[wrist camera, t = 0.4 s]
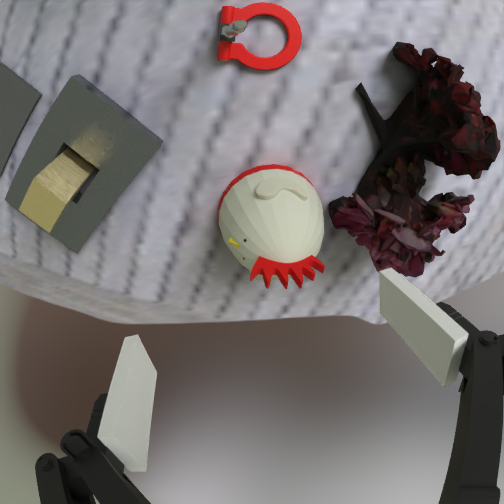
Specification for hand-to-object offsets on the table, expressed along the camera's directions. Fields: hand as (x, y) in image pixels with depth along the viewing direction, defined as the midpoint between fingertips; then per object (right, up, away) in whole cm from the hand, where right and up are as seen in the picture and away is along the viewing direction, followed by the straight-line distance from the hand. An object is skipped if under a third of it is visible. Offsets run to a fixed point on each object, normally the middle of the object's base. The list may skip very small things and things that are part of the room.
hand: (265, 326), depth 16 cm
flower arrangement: (+21, +18, +24) cm, 37 cm away
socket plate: (-23, +15, +19) cm, 34 cm away
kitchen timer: (+2, +9, +28) cm, 29 cm away
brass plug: (-23, +15, +19) cm, 34 cm away
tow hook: (0, +28, +14) cm, 31 cm away
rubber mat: (-36, +22, +12) cm, 44 cm away
